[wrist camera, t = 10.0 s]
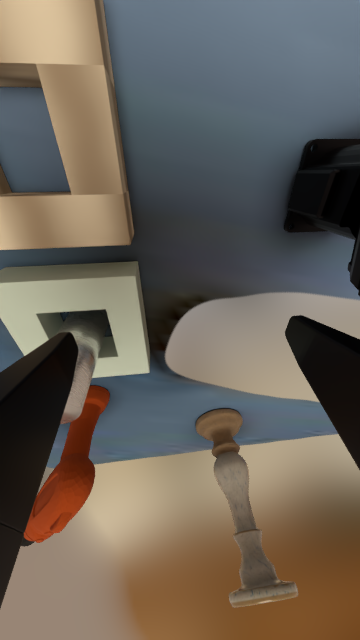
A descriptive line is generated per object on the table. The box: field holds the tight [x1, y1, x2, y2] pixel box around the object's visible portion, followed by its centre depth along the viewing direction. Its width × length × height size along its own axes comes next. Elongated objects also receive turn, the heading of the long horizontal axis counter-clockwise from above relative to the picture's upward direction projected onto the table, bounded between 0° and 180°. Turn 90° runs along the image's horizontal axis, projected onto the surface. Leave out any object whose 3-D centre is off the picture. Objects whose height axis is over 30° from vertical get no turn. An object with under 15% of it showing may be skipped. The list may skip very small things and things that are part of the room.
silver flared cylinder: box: [57, 309, 109, 424], centre depth 18 cm, size 4×4×11 cm
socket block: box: [0, 0, 134, 250], centre depth 13 cm, size 12×12×4 cm
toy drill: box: [21, 385, 110, 546], centre depth 27 cm, size 5×19×15 cm, turn 140°
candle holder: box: [196, 409, 298, 607], centre depth 31 cm, size 9×9×20 cm
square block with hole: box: [0, 261, 150, 378], centre depth 21 cm, size 12×12×4 cm
